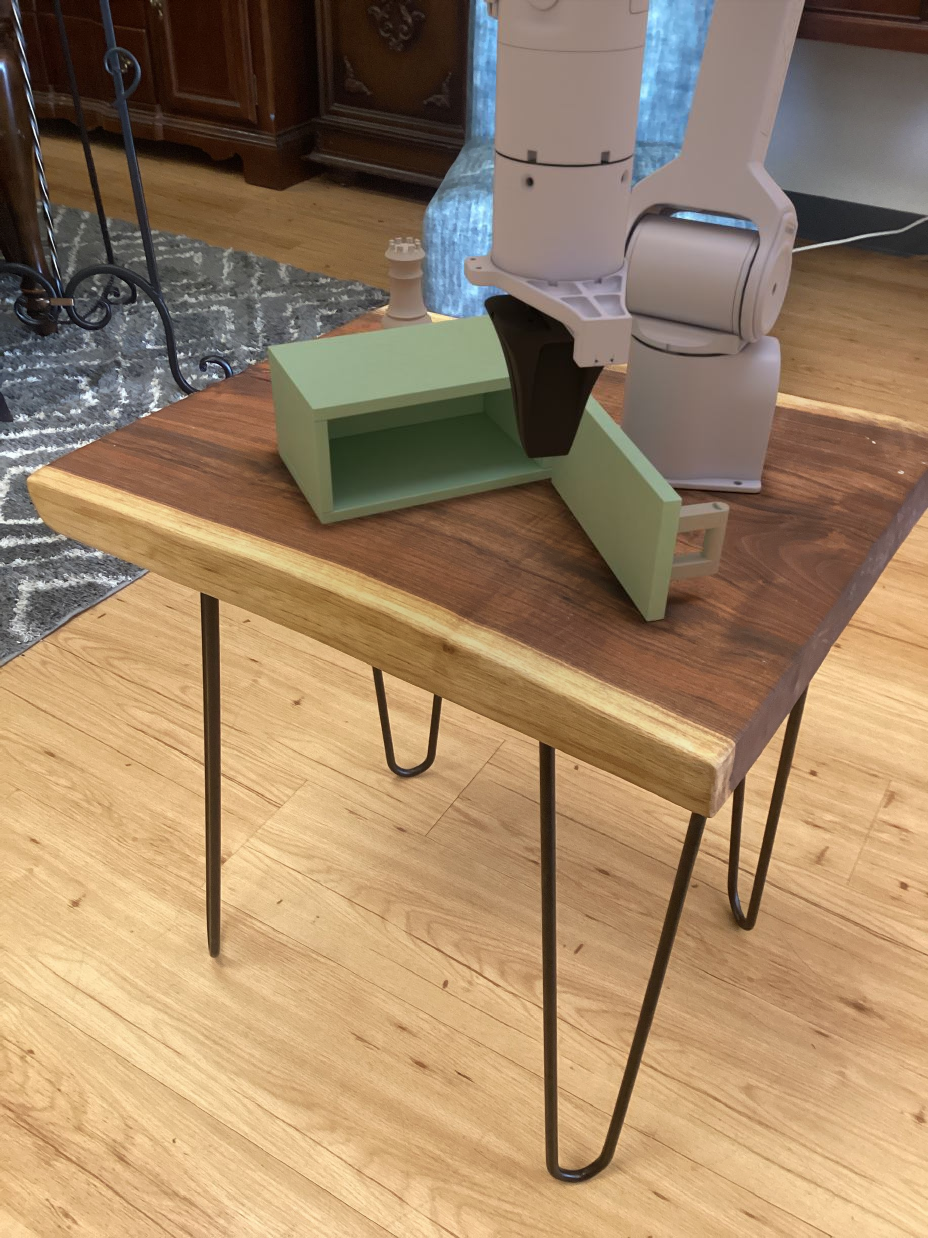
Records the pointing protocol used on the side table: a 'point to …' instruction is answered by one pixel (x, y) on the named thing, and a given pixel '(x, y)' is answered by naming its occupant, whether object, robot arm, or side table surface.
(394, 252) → the rook chess piece
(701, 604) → the side table surface
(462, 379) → the cabinet
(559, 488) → the door
